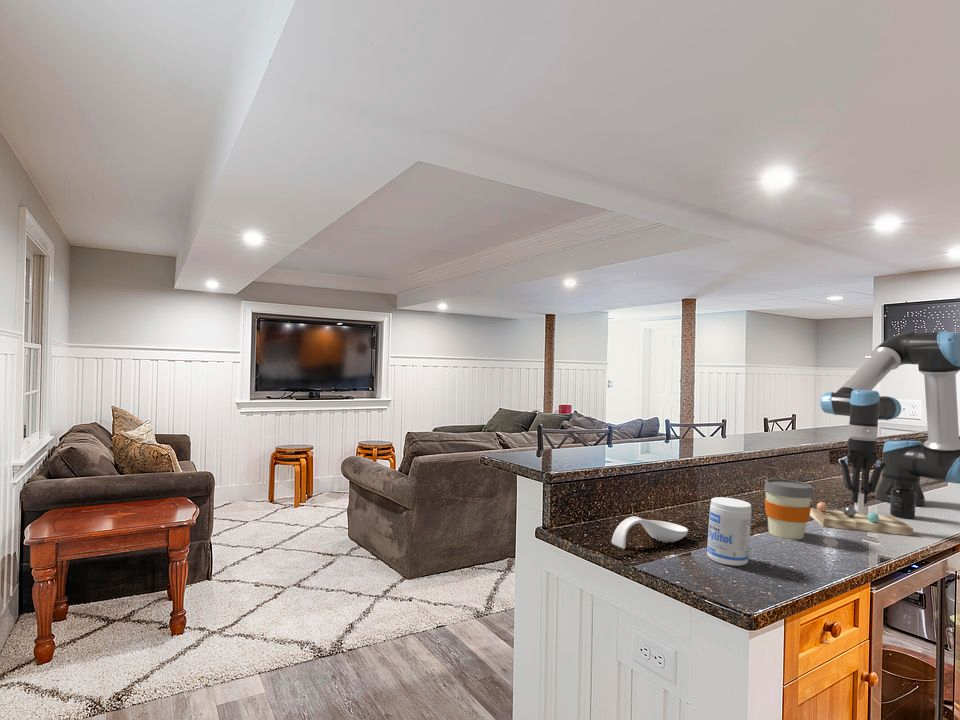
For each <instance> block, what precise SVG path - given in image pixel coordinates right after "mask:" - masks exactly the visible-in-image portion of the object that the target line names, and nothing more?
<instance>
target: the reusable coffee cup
mask: <svg viewBox="0 0 960 720" xmlns="http://www.w3.org/2000/svg"><path fill="white" fill-rule="evenodd" d="M763 491H764V492H765V498H764V507H765V509H764V510H765V515H766V517H767V524H768V525H767V526H768V532H769V534H771V535H772V536H775V537H777V538H782V539H789V540H802V539H804V537H805V531H806V527H807V523H808V522H809V520H810V517H811V516H810V511H811V508H812V504H811V502H812V498H813V496H814V492H813V485H811V484H809V483H806V482H803V481H798V480H791V479H787V478H786V479H784V478H767V479H765V482H764V488H763Z"/></svg>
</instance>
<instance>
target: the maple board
mask: <svg viewBox="0 0 960 720" xmlns="http://www.w3.org/2000/svg"><path fill="white" fill-rule="evenodd" d="M868 514H869V513H864V512H863V515H861V514H857V513H856V514H855V515H854V516H852V517H849V516H847V515H845V513H844V510H834V509H833V510H831V509H827V510H826V511H824V512H822V511H819V510H818V509H817V508H813V507H811V511H810V516H809V517H811V518H812V519H813V520H814V521H815V522H817V523H818V524H820V525H821V526H822V527H823V528H833V529H841V530H842V529H843V530H852V531H860V532H861V531H862V532H872V533H878V534H888V533H889V534H891V535H897V534H902V535H901V536H907V535H914V527H912V526H911V525H909V524H907V523H905V522H904V521H902V520H900V519H898V517H895V516H893V515H884V514H877V515H878V516H879V520H878V521H877V522H875V523H873V522H870V521H869V520H868V519H867V515H868Z"/></svg>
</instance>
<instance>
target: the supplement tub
mask: <svg viewBox="0 0 960 720" xmlns="http://www.w3.org/2000/svg"><path fill="white" fill-rule="evenodd" d="M752 511H753V510H752V504H751V503H750V502H747V501H745V500H741V499H737V498H733V497H723V496H719V497H718V496H716V497H711V500H710V507H709V517H708V518H709V519H708V531H707V543H706V544H707V546H706V549H707V550H706V555H707V557H708V558H709V559H710V560H712V561H714V562H716V563H719V564H721V565H728V566H731V567H733V566H734V567H736V566H737V567H742V566H745V565H746V564H747V563H748V562H749V558H750V557H749V555H750V542H751V541H750V539H751V527H752V526H751V525H752Z"/></svg>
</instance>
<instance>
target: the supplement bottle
mask: <svg viewBox="0 0 960 720" xmlns="http://www.w3.org/2000/svg"><path fill="white" fill-rule="evenodd" d="M895 486H896V487H895V488H893V489H892V490H891V503H890V505H889V507H890V508H889V513H890V516H893V517H895V518H900V519H906V520H913V519H915V517H916V507H917V506H916V493H915V491H913V490H912V488H913V482H910V481H904V480H896V481H895Z"/></svg>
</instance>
